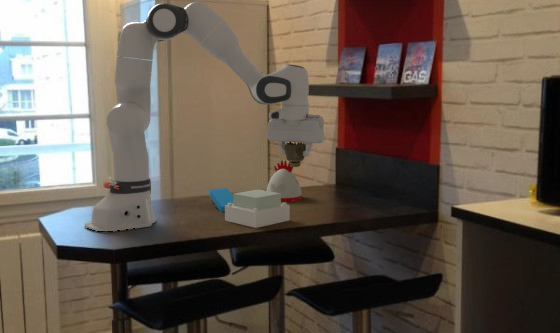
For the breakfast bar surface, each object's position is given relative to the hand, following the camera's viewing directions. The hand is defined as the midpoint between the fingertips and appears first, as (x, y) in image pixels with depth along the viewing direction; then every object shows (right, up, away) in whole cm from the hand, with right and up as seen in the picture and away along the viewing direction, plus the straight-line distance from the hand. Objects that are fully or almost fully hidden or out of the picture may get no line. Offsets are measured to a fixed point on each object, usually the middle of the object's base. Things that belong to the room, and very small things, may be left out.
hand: (295, 155), depth 214 cm
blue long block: (-26, -19, +19) cm, 38 cm away
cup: (0, -4, +1) cm, 4 cm away
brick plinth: (-13, -21, -4) cm, 25 cm away
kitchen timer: (-4, -17, +34) cm, 38 cm away
